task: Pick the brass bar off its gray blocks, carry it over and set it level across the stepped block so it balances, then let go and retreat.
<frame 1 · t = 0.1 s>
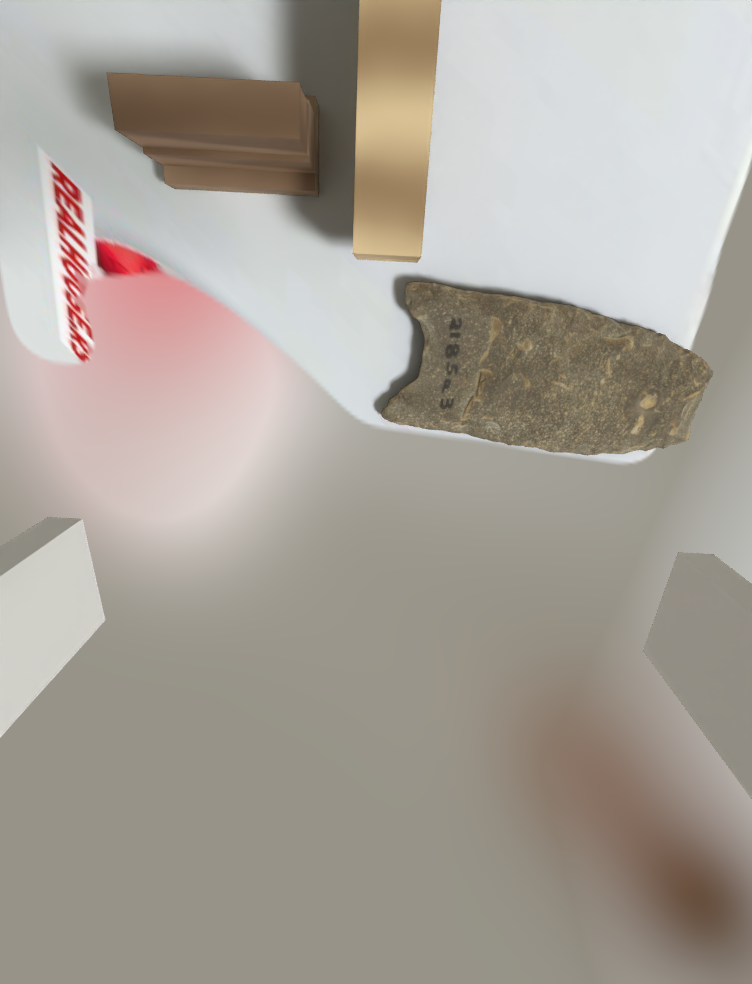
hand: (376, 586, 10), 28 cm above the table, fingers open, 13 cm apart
stone tool: (543, 378, 36), on the table
stepped block: (244, 148, 30), on the table
brass bar: (396, 78, 26), point 3 cm above the table, touching gray blocks
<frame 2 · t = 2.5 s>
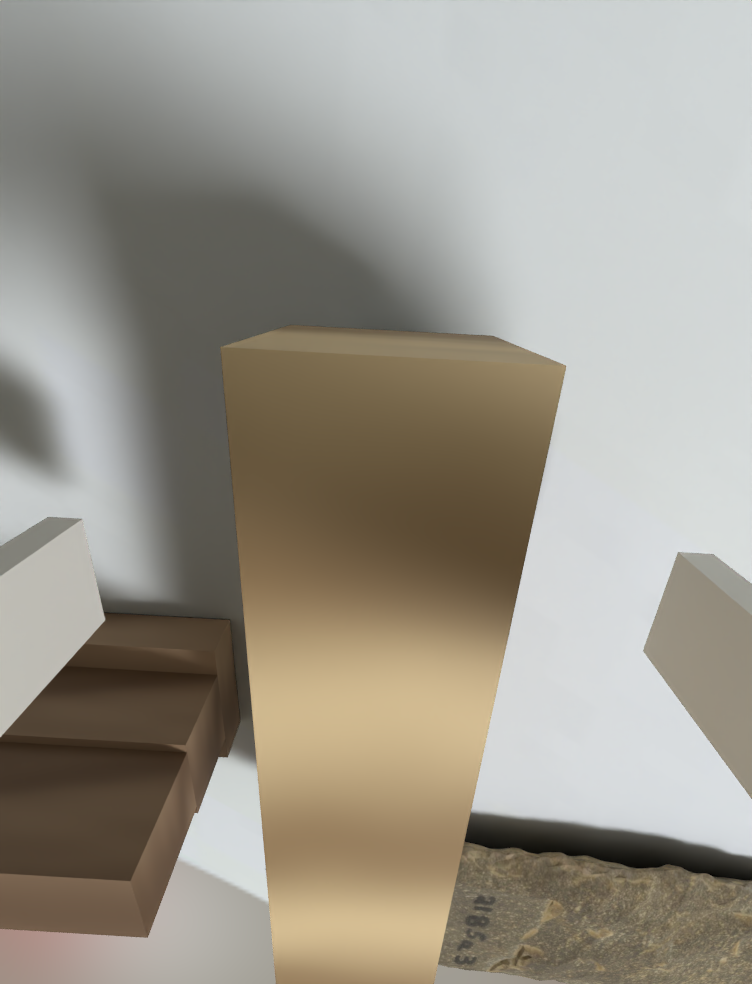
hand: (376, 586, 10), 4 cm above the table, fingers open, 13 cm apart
stone tool: (617, 889, 23), on the table
stepped block: (101, 666, 17), on the table
brass bar: (370, 686, 13), point 3 cm above the table, touching gray blocks
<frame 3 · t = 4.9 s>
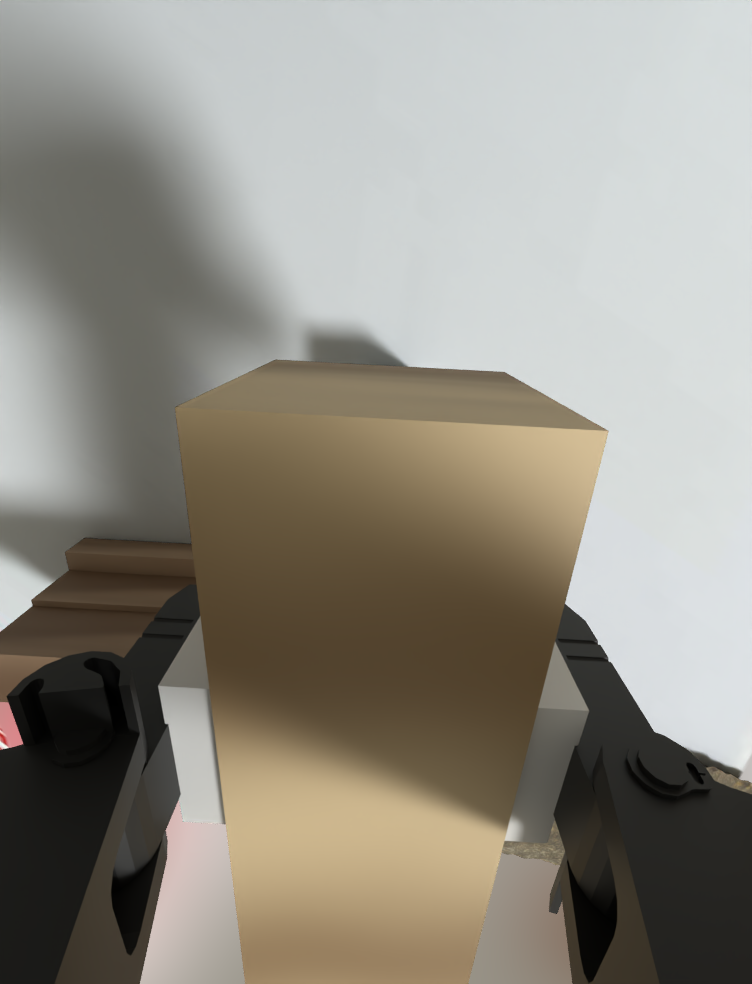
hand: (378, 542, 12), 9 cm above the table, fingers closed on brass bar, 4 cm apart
stone tool: (567, 781, 30), on the table
stepped block: (186, 585, 24), on the table
brass bar: (367, 749, 11), point 12 cm above the table, touching gripper
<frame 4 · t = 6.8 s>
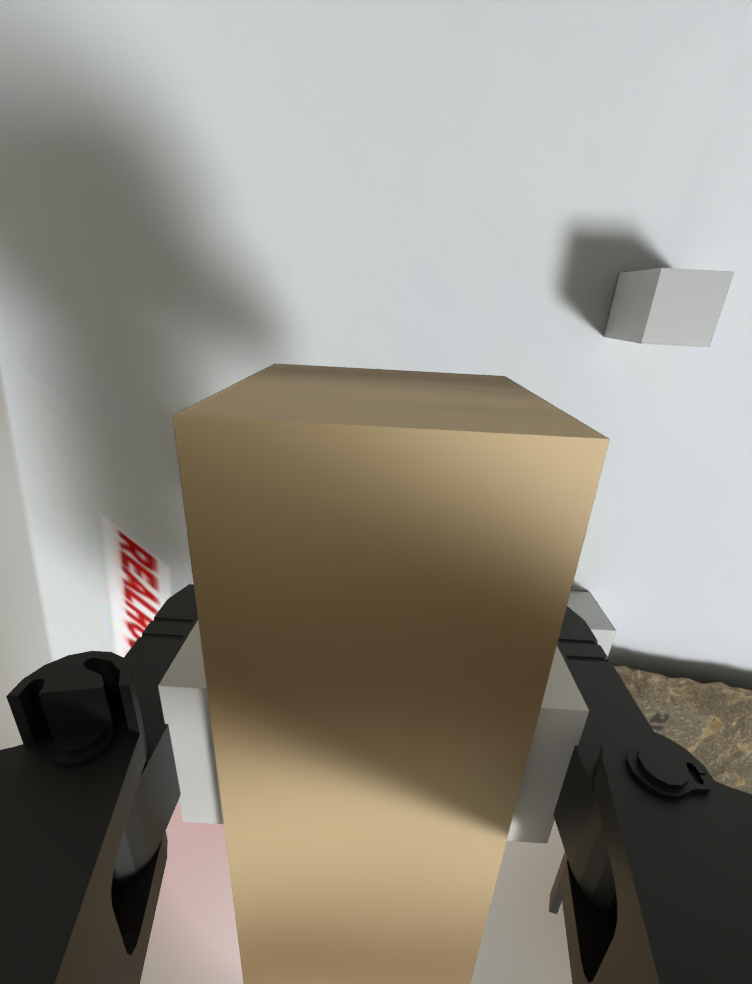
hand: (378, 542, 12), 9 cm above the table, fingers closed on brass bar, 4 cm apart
stone tool: (741, 737, 28), on the table
gray blocks: (596, 479, 21), on the table
brass bar: (366, 753, 11), point 12 cm above the table, touching gripper
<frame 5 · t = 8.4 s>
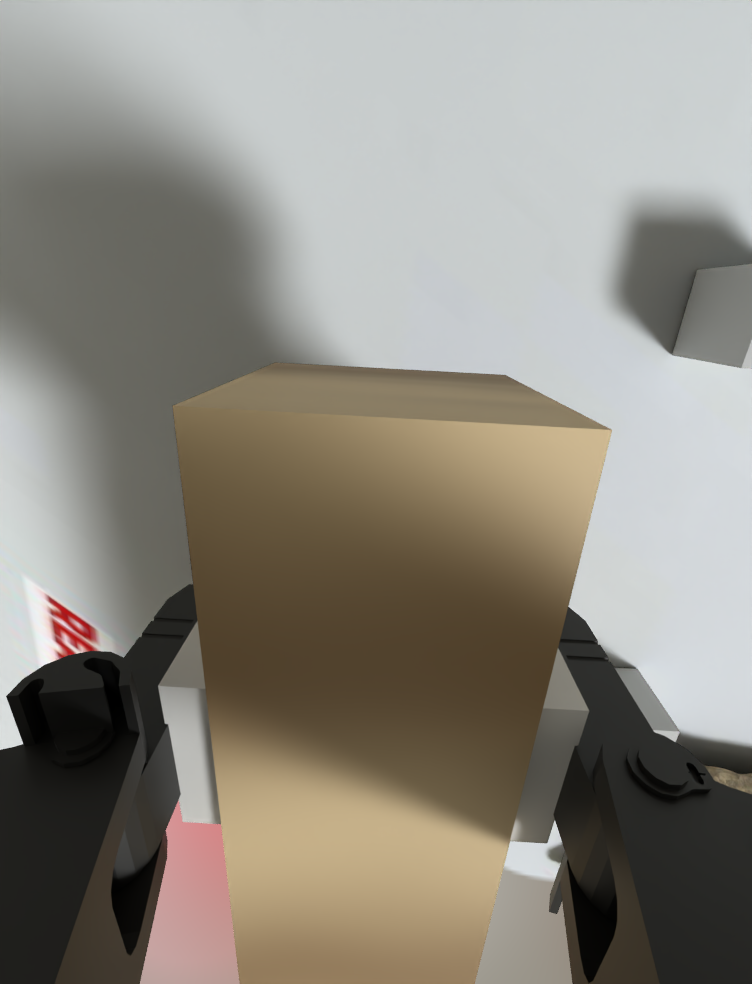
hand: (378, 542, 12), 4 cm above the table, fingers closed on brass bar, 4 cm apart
gray blocks: (652, 535, 16), on the table
brass bar: (366, 757, 11), point 7 cm above the table, touching gripper, stepped block
when the fingers open (4 cm above the table, at t = 8.8 s): brass bar stays where it is, resting on stepped block.
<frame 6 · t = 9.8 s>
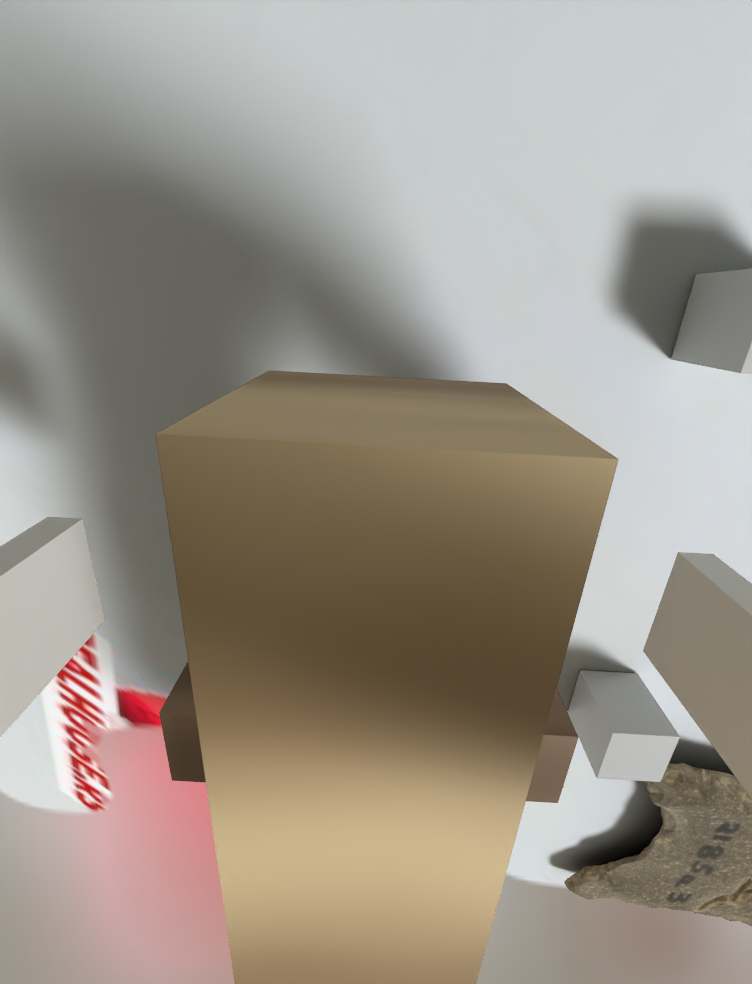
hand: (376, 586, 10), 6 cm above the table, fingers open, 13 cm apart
gray blocks: (651, 539, 16), on the table
stepped block: (374, 592, 18), on the table
brass bar: (364, 764, 11), point 7 cm above the table, touching stepped block
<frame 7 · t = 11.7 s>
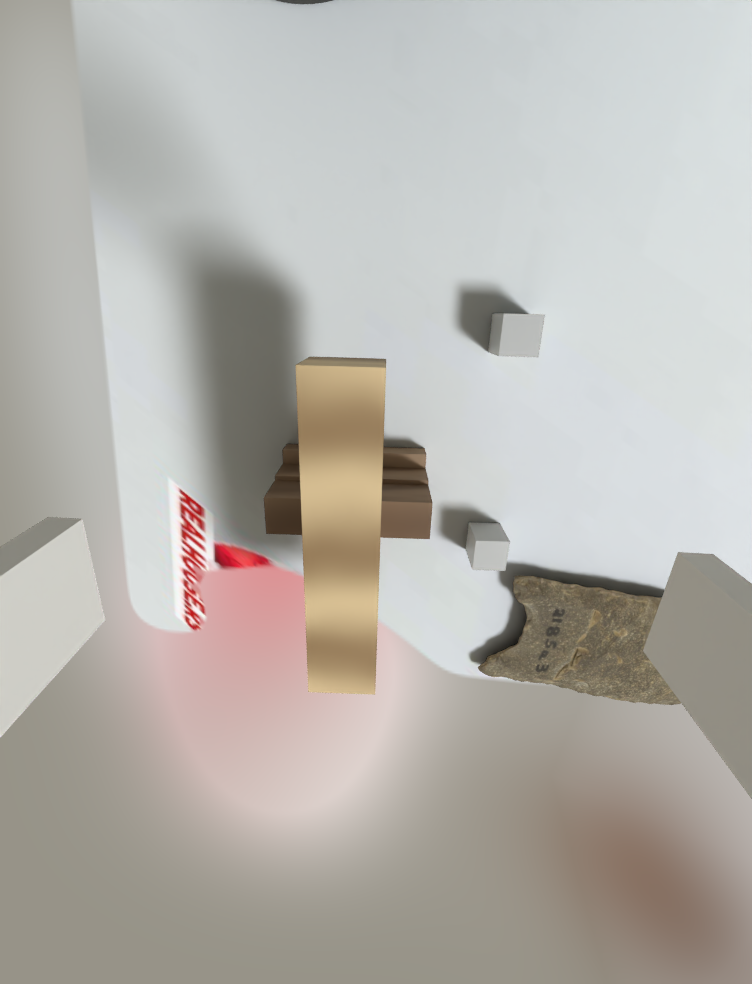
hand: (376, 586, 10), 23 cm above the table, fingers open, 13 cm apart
stone tool: (627, 637, 39), on the table
gray blocks: (494, 443, 32), on the table
stepped block: (355, 478, 34), on the table
brass bar: (347, 521, 27), point 7 cm above the table, touching stepped block
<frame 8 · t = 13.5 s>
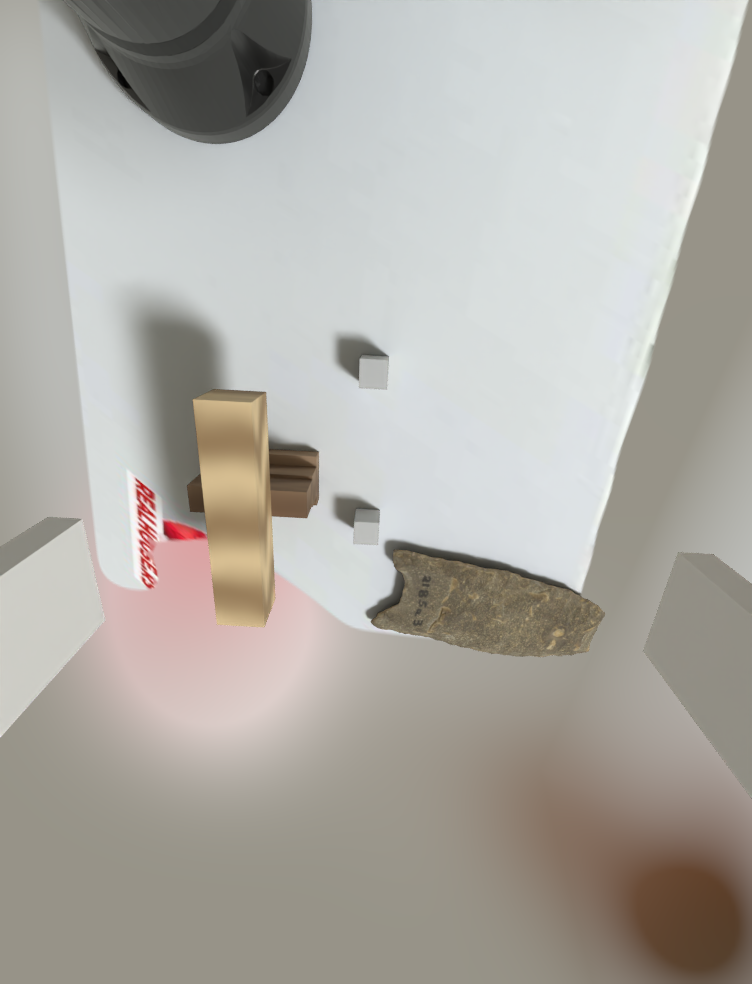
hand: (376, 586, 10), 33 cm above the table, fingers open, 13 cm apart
stone tool: (488, 602, 50), on the table
gray blocks: (370, 449, 43), on the table
stepped block: (268, 473, 44), on the table
brass bar: (247, 504, 38), point 7 cm above the table, touching stepped block
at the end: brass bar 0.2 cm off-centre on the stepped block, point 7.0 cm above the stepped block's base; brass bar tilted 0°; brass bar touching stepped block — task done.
